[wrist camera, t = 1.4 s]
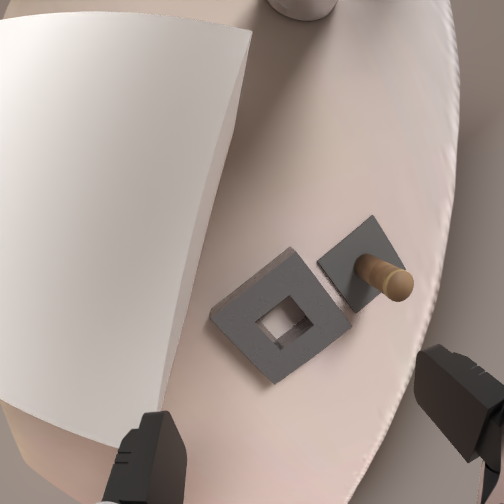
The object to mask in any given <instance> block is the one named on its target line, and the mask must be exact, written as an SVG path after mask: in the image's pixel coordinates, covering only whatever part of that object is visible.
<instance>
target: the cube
mask: <svg viewBox="0 0 504 504" xmlns="http://www.w3.org/2000/svg"><path fill="white" fill-rule="evenodd" d="M252 32H253V31H249V30H245V29H241V28H236V27H232V26H227V25H222V24H217V23H212V22H206V21H201V20H194V19H188V18H181V17H173V16H165V15H155V14H144V13H128V12H66V13H51V14H40V15H31V16H23V17H16V18H10V19H4V20H0V399H1V400H3V401H5V402H7V403H8V404H10V405H12V406H14V407H16V408H18V409H20V410H22V411H24V412H26V413H28V414H30V415H32V416H35V417H37V418H39V419H41V420H43V421H46V422H48V423H50V424H52V425H55V426H57V427H59V428H62V429H64V430H67V431H69V432H72V433H75V434H77V435H80V436H82V437H85V438H88V439H91V440H94V441H97V442H99V443H102V444H105V445H109V446H112V447H115V448H118V449H119V447H120V444H121V441H122V439H123V438H124V437H125V436H126V434H127V433H128V432H129V431H130V430H131V429H138V428H139V425H140V422H141V419H142V416H143V414H144V413H146V412H158V411H161V409H162V405H163V401H164V397H165V393H166V389H167V385H168V381H169V377H170V373H171V369H172V365H173V362H174V358H175V354H176V350H177V347H178V343H179V339H180V336H181V332H182V328H183V325H184V321H185V317H186V314H187V310H188V307H189V302H190V298H191V293H192V289H193V285H194V280H195V276H196V272H197V268H198V264H199V259H200V255H201V251H202V247H203V243H204V239H205V235H206V231H207V227H208V223H209V219H210V216H211V212H212V208H213V204H214V200H215V197H216V193H217V189H218V185H219V182H220V178H221V175H222V171H223V167H224V164H225V160H226V157H227V153H228V150H229V146H230V143H231V139H232V136H233V132H234V127H235V122H236V116H237V110H238V105H239V99H240V94H241V88H242V83H243V78H244V72H245V67H246V62H247V57H248V52H249V47H250V42H251V37H252Z"/></svg>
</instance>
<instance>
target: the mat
mask: <svg viewBox="0 0 504 504" xmlns="http://www.w3.org/2000/svg"><path fill="white" fill-rule="evenodd" d="M365 253H368V254H371V255H373V256H375V257H377V258H379V259H381V260H384V261H386V262H388V263H390V264H392V265H394V266H396V267H398V268H400V269H403V270H406V269H405V267H404V265H403V263H402V262H401V260H400V258H399V257H398V255H397V253H396V251H395V250H394V248H393V246H392V245H391V243H390V241H389V240H388V238H387V236H386V235H385V233H384V232H383V230H382V228H381V227H380V225H379V224H378V222H377V220H376V219H375V217H374V216H373V215H372V216H370V217H369V218H368V219H367V220H366V221H365V222H363V223H362V224H361V225H360V226H359V227H357V228H356V229H355V230H354V231H353V232H352V233H350V234H349V235H348V236H347V237H346V238H344V239H343V240H342V241H341V242H340V243H338V244H337V245H336V246H335V247H334V248H332V249H331V250H330V251H329V252H327V253H326V254H325V255H324V256H323V257H321V258H320V259H319V260H318V263H319V264H320V265H321V267H322V268H323V269H324V271H325V272H326V274H327V275H328V276H329V278H330V279H331V280H332V282H333V283H334V284H335V286H336V287H337V289H338V290H339V291H340V293H341V294H342V295H343V297H344V298H345V300H346V301H347V302H348V304H349V305H350V307H351V308H352V309H353V311H354V312H355V313H357V312H358V311H360V310H361V309H362V308H363V307H364V306H366V305H367V304H368V303H369V302H370V301H371V300H373V299H374V298H375V297H376V296H377V295H378V294H380V293H381V292H380V291H379V290H377V289H376V288H374V287H373V286H371V285H370V284H368V283H367V282H366V281H364V280H363V279H361V278H360V277H358V276H357V275H356V274H355V271H354V263H355V261H356V259H357V258H358V257H359V256H360V255H362V254H365Z"/></svg>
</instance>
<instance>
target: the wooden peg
mask: <svg viewBox="0 0 504 504" xmlns="http://www.w3.org/2000/svg"><path fill="white" fill-rule="evenodd" d="M354 271H355V274H356V275H357V276H358V277H360V278H361V279H363V280H364V281H366V282H367V283H368V284H370V285H371V286H373V287H374V288H376V289H377V290H379V291H380V292H382V293H383V294H384V295H386V296H387V297H388V298H389V299H391V300H392V301H396V302H400V301H403V300H405V299H406V298H408V297H409V295H410V294H411V292H412V290H413V286H414V281H413V277H412V276H411V274H410V273H409V272H407V271H405V270H403V269H400V268H398V267H396V266H394V265H392V264H390V263H388V262H386V261H384V260H381V259H379V258H377V257H375V256H373V255H371V254H368V253H365V254H362V255H360V256H359V257H358V258H357V259H356V261H355V263H354Z"/></svg>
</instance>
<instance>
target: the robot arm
mask: <svg viewBox="0 0 504 504" xmlns="http://www.w3.org/2000/svg"><path fill="white" fill-rule="evenodd" d="M267 1H268V3H269V4H270V5H271V6H272V7H273V8H274V9H275V10H277V11H278V12H279V13H281V14H283V15H285V16H287V17H290V18H293V19H297V20H305V21H310V20H317V19H321V18H323V17H325V16H326V15H327V14H329V13H330V11H331V10H332V8H333V7H334V5H335V4H336V3H337V1H338V0H267ZM414 394H415V398H416V401H417V402H418V404H419V405H420V407H421V408H422V409H423V410H424V411H425V412H426V414H427V415H428V416H429V417H430V418H431V420H432V421H433V422H434V423H435V424H436V425H437V427H438V428H439V429H440V430H441V431H442V433H443V434H444V435H445V436H446V437H447V438H448V440H449V441H450V442H451V443H452V445H453V446H454V447H455V448H456V449H457V451H458V452H459V453H460V454H461V455H462V457H463V458H464V459H465V460H466V462H467V463H470V462H471V461H473V460H474V459H476V458H478V457H479V456H480V457H481V458H482V459H483V461H482V464H481V470H480V481H479V489H478V497H477V504H504V385H503V384H502V383H500V382H499V381H498V380H496V379H495V378H494V377H493V376H492V375H490V374H489V373H488V372H485V370H484V369H483V368H481V367H480V366H477V364H476V363H475V362H473V361H472V360H471V359H470V358H468V357H466V356H463V355H461V354H458V353H451V352H450V351H448V350H447V349H446V348H445V347H443V346H442V345H440V344H437V345H434V346H431V347H429V348H427V349H424V350H421V351H419V352H418V353H417V356H416V368H415V381H414ZM114 462H115V464H113V467H112V470H111V474H110V477H109V480H108V483H107V486H106V489H105V492H104V496H103V499H102V501H101V502H98V503H95V504H183V500H184V488H185V477H186V466H187V454H186V449H185V445H184V443H183V441H182V438H181V436H180V434H179V432H178V430H177V428H176V425H175V423H174V421H173V419H172V416H171V414H170V413H169V412H168V411H158V412H146V413H144V414H143V416H142V419H141V422H140V425H139V428H138V429H131V430H130V431H129V432H128V433H127V434H126V436H125V437H124V438H123V439H122V441H121V444H120V447H119V449H118V454H117V455H116V458H115V461H114Z"/></svg>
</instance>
